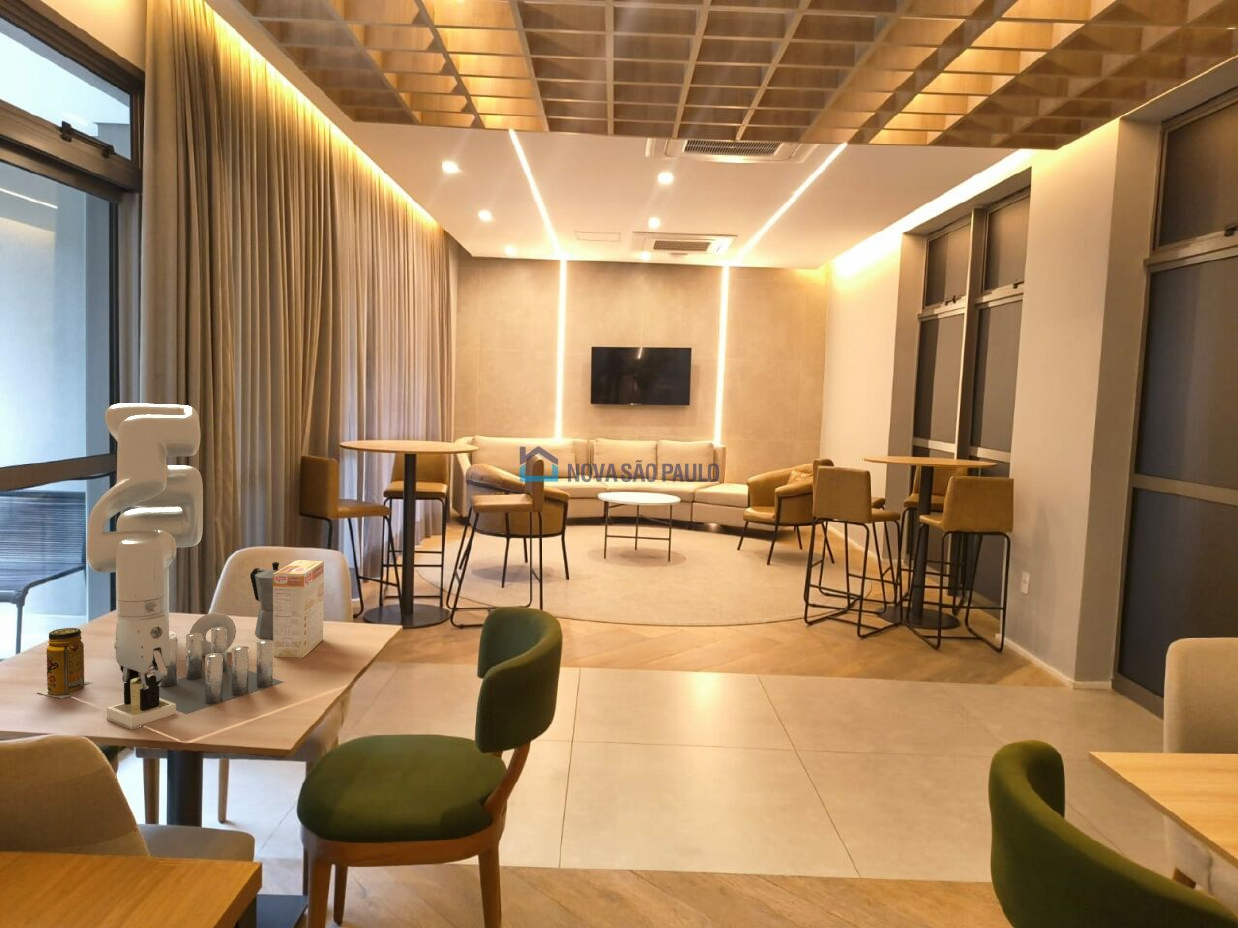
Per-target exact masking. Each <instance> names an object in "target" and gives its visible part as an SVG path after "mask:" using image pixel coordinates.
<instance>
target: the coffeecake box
mask: <svg viewBox="0 0 1238 928" xmlns="http://www.w3.org/2000/svg"><path fill="white" fill-rule="evenodd" d="M324 563H325V561H323V560H305V559H303V560H302V559H298V560H297V559H296V560H294V561H292V562H291V563H289V564H288V565H285V566H284V567H282V568H279V569H280V570H279V571H277V572H275V573H273V639H272V641H273V657H276V658H277V657H283V658H300V659H304V658H305V657H306V656H307V655H308V654H309V653H310V652H311V651H313V650H314V649H315V647H317V646H318V645H319V644H320V643H321V642H322V641H324V639H325V638H324V585H325V583H324V577H325V576H324Z"/></svg>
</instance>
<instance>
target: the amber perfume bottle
mask: <svg viewBox="0 0 1238 928" xmlns="http://www.w3.org/2000/svg"><path fill="white" fill-rule="evenodd" d="M147 676H148V679H149V678H150V677H151V676H152V675H150V674H147ZM140 689H142V681H141V677H137V678H134V679H131V681H130V690H131V715H133V716H134V715H137V714H140V713H144V712H147V711H150V710H153V709H157V708H159V706H158V707H155V708H152V709H149V710H145V711H141V710H140Z"/></svg>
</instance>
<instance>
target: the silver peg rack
mask: <svg viewBox="0 0 1238 928" xmlns="http://www.w3.org/2000/svg"><path fill="white" fill-rule="evenodd" d="M177 640H178V639H169V642H170V666H169V667H168V668H166V670H167V676H165V677H164V678H163V679H162V681H161V685H160V687H162V688H168V687H173V686H175V685H177V680H178V677H177V675H178V673H177V671H178V667H177V666H178V664H177V663H178V662H177V659H178V657H177V656H178V653H177V652H178V651H177V649H178V648H177V647H178V645H177V643H178V641H177ZM210 642H211V654H208V655H206V656H203V647H202V633H190V632H189V633H187V634H186V635H185V677H186V679H187V680H197V679H200V678H202V677H203V672H205V703H206V704H215V705H218V703H219V704H222V703H223V702H222V701H223V672H225V671H226V670H227V665H228V650H227V628H226V627H216V628H211V629H210ZM249 651H250V650H249V647H248V646H247V645H246V646H245V645H240V646H238V645H237V646H235V647H232V648H231V665H232V695H234V696H240V697H242V696H241V695H243V696H245V694H246V695H249V694H248V676H249V671H250V669H249V667H250V666H249V658H250V657H249ZM203 657H205V658H204V659H205V660H204V661H205V662H204V663H205V664H204V665H205V666H204V665H203ZM273 658H274V656H273V639H260V640H258V641H256V673H257V687H259V688H265V689H267V688H266V687H268V688H271V687H273V686H272V685H273V679H274V676H273V675H274V673H273V672H274V670H273V668H274V667H273V666H274V665H273V664H274V662H273V661H274V659H273ZM203 666H204V667H205V668H204V669H203ZM203 670H204V671H203ZM270 686H271V687H270ZM221 702H222V703H221Z"/></svg>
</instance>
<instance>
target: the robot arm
mask: <svg viewBox="0 0 1238 928" xmlns="http://www.w3.org/2000/svg"><path fill="white" fill-rule="evenodd" d="M104 420H105V423H106V427H107V430H108V431H109V434H110V435H111V436H112V437H113V438H114V439H115V441H116V442H117V453H116V455H117V457H116V459H117V460H116V461H117V462H116V483H115V484H114V486H112V487H111V488H109V489H108V490H107V491H106V492H104V494H102V496H101V497H100V498H99V500H97V502H96V503H95V505H94V506H93V508H92V509H91V511H90V512H91V513H90V514H89V516H88V522H87V534H86V535H87V538H86V560H87V564H88V566H89V567H90V569H91V570H93V571H94V572H97V573H101V574H105V573H115V585H116V586H115V591H116V594H115V595H116V599H115V600H116V601H115V603H116V606H115V607H116V610H115V611H116V613H115V614H116V618H117V621H116V627H115V628H116V631H115V639H114V646H115V660H116V663H117V664H118V666H119V669H120V671H121V674H122V675H121V681H122V682H123V703H124V704H126V705H128V704H131V690H130V681H131V679H134V678H137V677H141V681H142V689H140V710H141V711H145V710H149V709H152V708H155V707H158V706H159V686H160V685H161V681H162V679H163V678H164V677H165V676H167V670H166V668H168V667H169V666H170V642H169V639H176V640H178V639H177V638H178V636H177V635H178V634H177V633H176V632H174V631H172V630H170V570H169V566H170V565H171V564H172V563H173V561H174V560H175V559H176V556H177V548H181V549H182V548H189V547H190V548H191V547H195V546H197V545H198V544H199V543H200V542H201V540H202V538H203V530H204V528H203V527H204V488H203V485H204V483H203V478H202V476H201V475H202V474H201V472H200V471H199V470H198V469H197V468H196V467H194V466H191V465H177V464H176V465H169V464H167V457H193V456H195V455H196V454H197V453H198V452H199V449H200V444H201V436H202V435H201V425H200V418H199V414H198V411H197V410H196V408H194V407H193V406H190V405H184V404H182V405H181V404H158V403H157V404H155V403H116V404H112V405H110V406H109V407H107V409H106V411H105V413H104ZM130 507H136V508H134V509H129V510H126V509H127V508H130ZM123 510H126V511H124V512H122V511H123ZM119 512H122V513H121V514H120V515H119V516H118V518H117V521H116V531H106V526H107V523H108V522H109V520H110V519H111V518H113V517H114V516H115V515H117V514H118V513H119ZM150 667H152V668H151V669H150ZM151 674H153V675H151ZM147 675H150V676H151V677H150V678H149V679H148V676H147Z"/></svg>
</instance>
